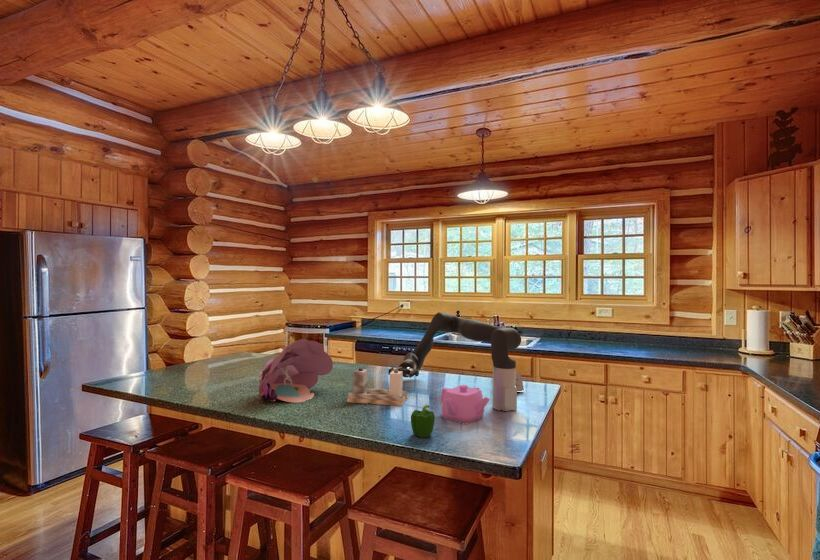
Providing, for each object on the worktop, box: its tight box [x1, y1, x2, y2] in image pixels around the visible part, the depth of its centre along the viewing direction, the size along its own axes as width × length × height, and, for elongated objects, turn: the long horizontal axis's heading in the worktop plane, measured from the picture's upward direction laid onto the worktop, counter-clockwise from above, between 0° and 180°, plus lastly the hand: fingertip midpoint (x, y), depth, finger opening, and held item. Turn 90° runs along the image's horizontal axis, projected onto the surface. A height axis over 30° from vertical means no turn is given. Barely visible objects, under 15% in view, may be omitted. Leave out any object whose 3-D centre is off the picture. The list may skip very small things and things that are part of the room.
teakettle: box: [440, 384, 490, 425], centre depth 166 cm, size 17×17×12 cm
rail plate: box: [346, 367, 408, 407], centre depth 188 cm, size 24×12×14 cm, turn 80°
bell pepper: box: [410, 404, 436, 438], centre depth 146 cm, size 8×8×10 cm
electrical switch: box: [516, 371, 525, 391], centre depth 205 cm, size 9×5×9 cm, turn 116°
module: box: [388, 370, 404, 396], centre depth 187 cm, size 4×6×12 cm
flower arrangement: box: [258, 338, 334, 404], centre depth 192 cm, size 35×24×28 cm
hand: (400, 375), depth 197 cm, fingers open, 8 cm apart
